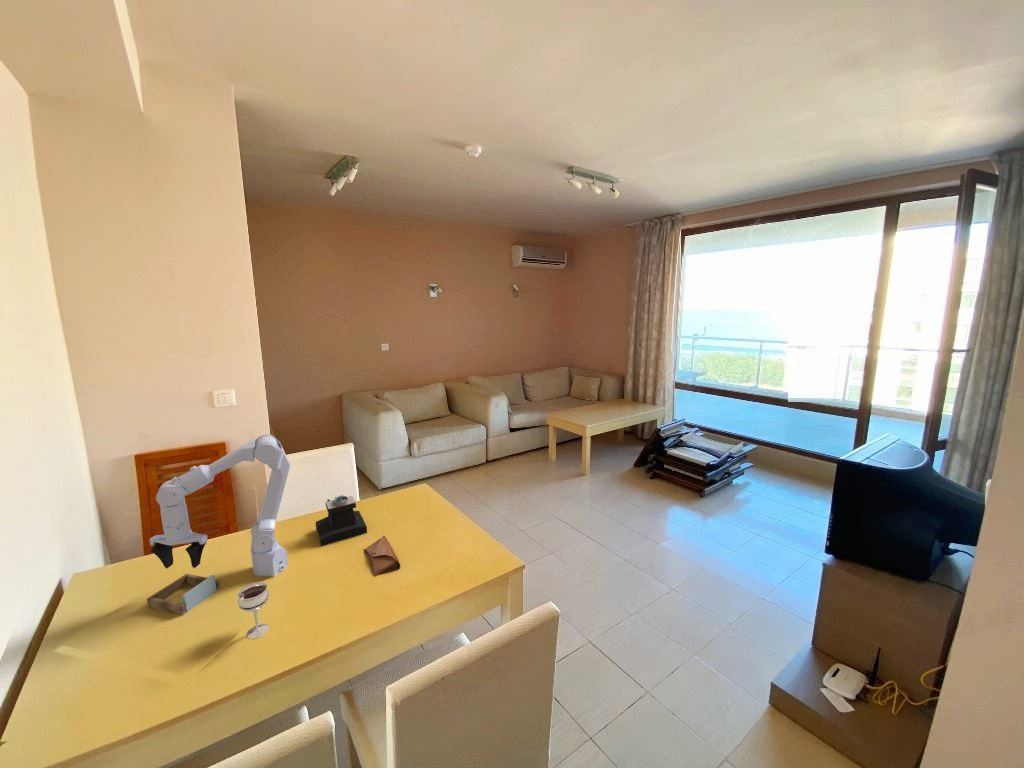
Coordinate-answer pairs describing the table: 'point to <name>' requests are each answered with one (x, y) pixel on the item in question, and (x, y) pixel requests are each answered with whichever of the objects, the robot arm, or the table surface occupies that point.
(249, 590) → the wineglass
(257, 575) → the robot arm
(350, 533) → the camera
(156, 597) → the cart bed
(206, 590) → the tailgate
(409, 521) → the table surface
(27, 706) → the table surface
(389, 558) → the sunglasses case
